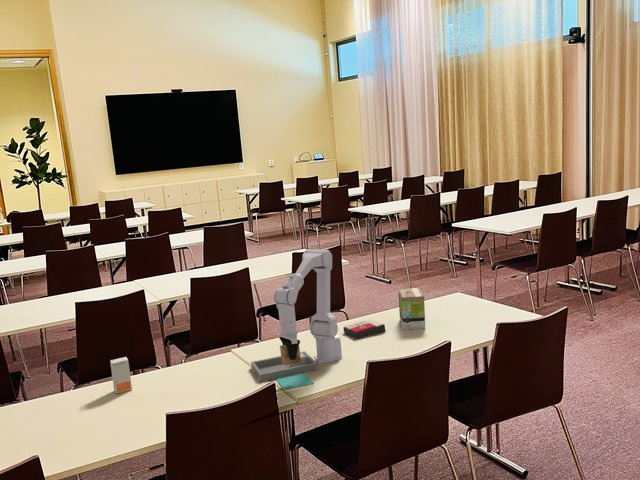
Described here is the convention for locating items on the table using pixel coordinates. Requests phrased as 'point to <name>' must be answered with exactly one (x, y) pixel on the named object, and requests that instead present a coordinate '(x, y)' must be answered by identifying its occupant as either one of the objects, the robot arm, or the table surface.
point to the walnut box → (285, 356)
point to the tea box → (411, 308)
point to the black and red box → (364, 329)
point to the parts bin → (280, 368)
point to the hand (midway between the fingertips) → (291, 357)
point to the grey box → (303, 361)
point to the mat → (294, 381)
